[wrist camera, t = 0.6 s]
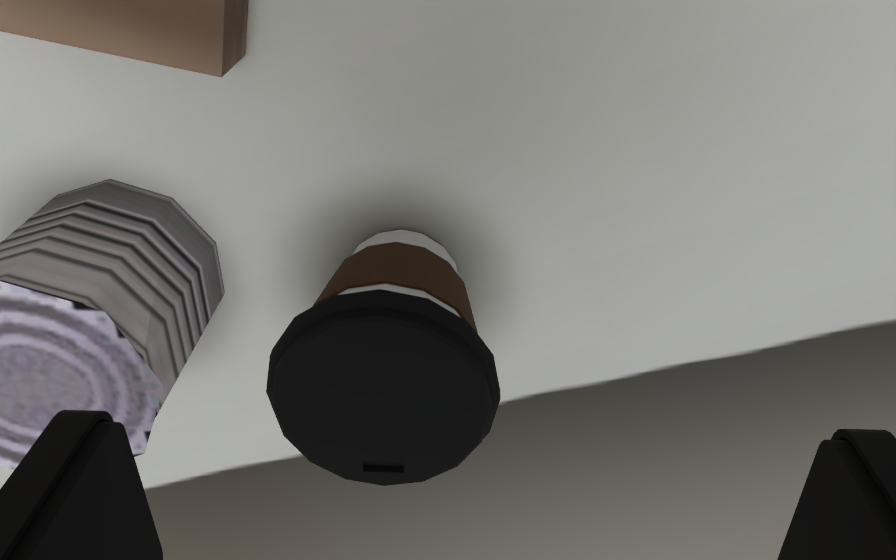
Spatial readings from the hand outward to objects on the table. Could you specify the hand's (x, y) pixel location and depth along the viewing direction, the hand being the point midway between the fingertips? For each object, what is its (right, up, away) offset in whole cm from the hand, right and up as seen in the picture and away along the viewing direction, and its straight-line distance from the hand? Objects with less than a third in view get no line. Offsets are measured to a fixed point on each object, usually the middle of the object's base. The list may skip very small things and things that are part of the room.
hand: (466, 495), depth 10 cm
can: (-19, +4, +34) cm, 39 cm away
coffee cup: (-3, +3, +33) cm, 34 cm away
